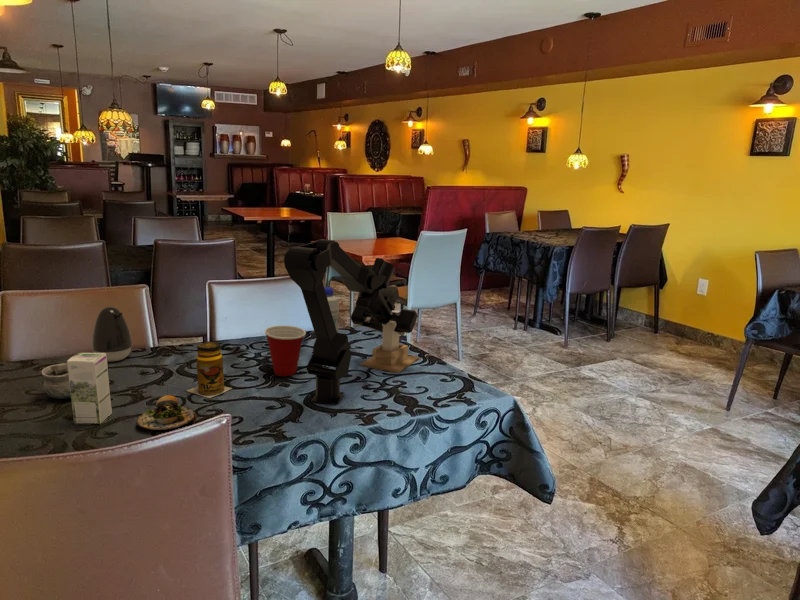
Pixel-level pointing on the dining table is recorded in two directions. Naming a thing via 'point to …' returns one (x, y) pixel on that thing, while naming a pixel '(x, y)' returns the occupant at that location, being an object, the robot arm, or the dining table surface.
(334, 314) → the bottle
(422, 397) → the dining table surface
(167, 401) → the burger
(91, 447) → the dining table surface
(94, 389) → the syrup box
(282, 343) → the plastic cup
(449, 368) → the dining table surface
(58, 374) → the mug
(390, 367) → the wooden socket base
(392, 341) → the tan rectangular block
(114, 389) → the dining table surface
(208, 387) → the condiment
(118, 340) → the dark grey egg shape
